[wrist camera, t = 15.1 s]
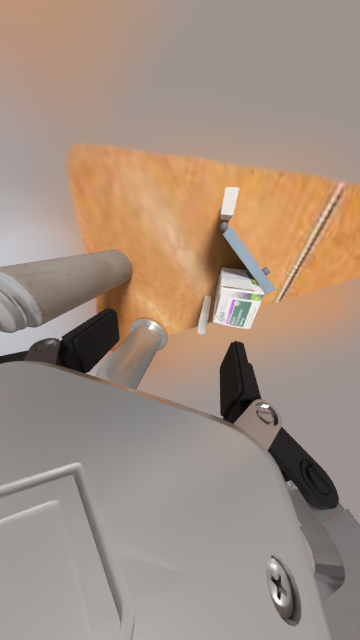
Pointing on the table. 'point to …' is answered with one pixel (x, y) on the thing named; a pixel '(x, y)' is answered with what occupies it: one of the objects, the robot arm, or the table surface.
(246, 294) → the syrup box
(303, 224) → the table surface
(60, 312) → the thermos bottle
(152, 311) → the table surface
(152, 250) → the table surface
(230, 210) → the wall
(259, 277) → the door
